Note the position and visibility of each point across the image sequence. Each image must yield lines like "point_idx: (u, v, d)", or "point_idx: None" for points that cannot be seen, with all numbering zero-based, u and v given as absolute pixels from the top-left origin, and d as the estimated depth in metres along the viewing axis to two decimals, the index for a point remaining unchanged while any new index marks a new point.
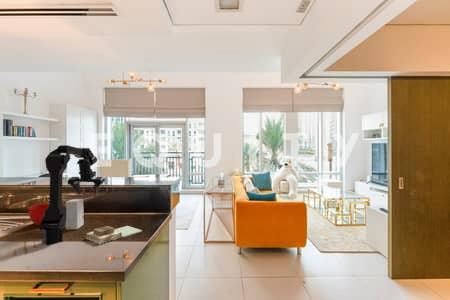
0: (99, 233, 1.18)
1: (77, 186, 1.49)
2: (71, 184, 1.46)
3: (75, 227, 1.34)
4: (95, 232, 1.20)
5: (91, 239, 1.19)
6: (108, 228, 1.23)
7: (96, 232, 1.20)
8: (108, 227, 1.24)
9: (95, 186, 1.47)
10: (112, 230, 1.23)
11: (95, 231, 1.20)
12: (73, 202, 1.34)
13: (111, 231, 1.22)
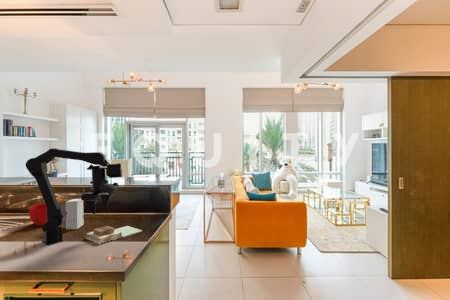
0: (99, 233, 1.18)
1: (103, 197, 1.27)
2: None
3: (75, 227, 1.34)
4: (95, 232, 1.20)
5: (91, 239, 1.19)
6: (108, 228, 1.23)
7: (96, 232, 1.20)
8: (108, 227, 1.24)
9: None
10: (112, 230, 1.23)
11: (95, 231, 1.20)
12: (73, 202, 1.34)
13: (111, 231, 1.22)
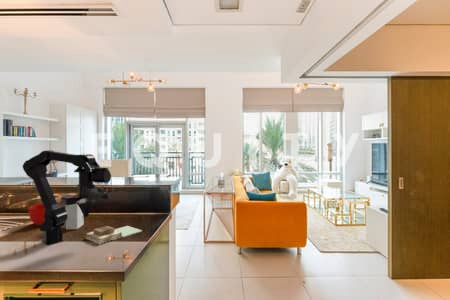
0: (99, 233, 1.18)
1: (86, 204, 1.16)
2: None
3: (75, 227, 1.34)
4: (95, 232, 1.20)
5: (91, 239, 1.19)
6: (108, 228, 1.23)
7: (96, 232, 1.20)
8: (108, 227, 1.24)
9: None
10: (112, 230, 1.23)
11: (95, 231, 1.20)
12: None
13: (111, 231, 1.22)
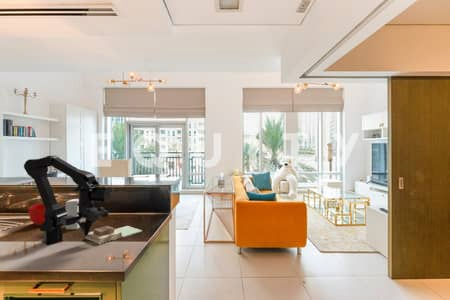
0: (99, 233, 1.18)
1: None
2: None
3: (75, 227, 1.34)
4: (95, 232, 1.20)
5: (91, 239, 1.19)
6: (108, 228, 1.23)
7: (96, 232, 1.20)
8: (108, 227, 1.24)
9: None
10: (112, 230, 1.23)
11: (95, 231, 1.20)
12: (73, 202, 1.34)
13: (111, 231, 1.22)
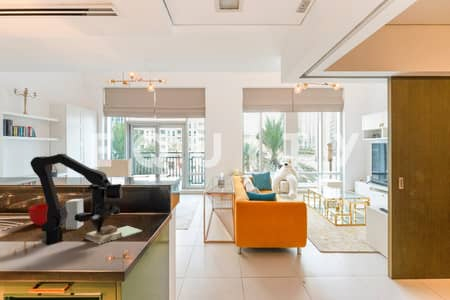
0: (102, 232, 1.19)
1: None
2: None
3: (75, 227, 1.34)
4: None
5: (91, 239, 1.19)
6: (111, 227, 1.24)
7: None
8: (111, 226, 1.26)
9: None
10: (115, 229, 1.24)
11: None
12: (73, 202, 1.34)
13: (114, 230, 1.24)
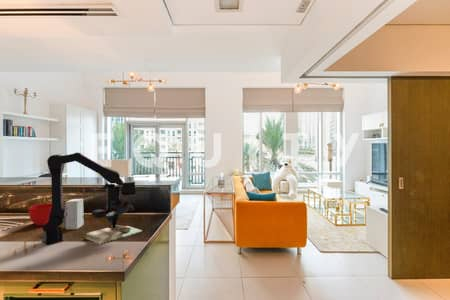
0: (117, 228, 1.25)
1: None
2: None
3: (75, 227, 1.34)
4: None
5: (91, 239, 1.19)
6: (125, 227, 1.30)
7: None
8: (125, 226, 1.31)
9: None
10: (128, 229, 1.29)
11: None
12: (73, 202, 1.34)
13: (127, 230, 1.29)
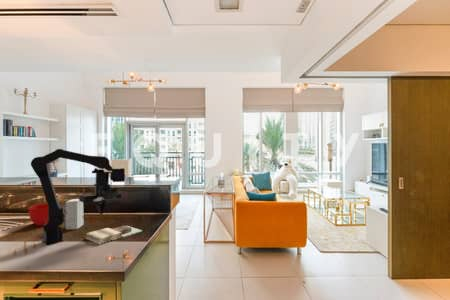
0: None
1: None
2: None
3: (75, 227, 1.34)
4: None
5: (91, 239, 1.19)
6: (125, 227, 1.30)
7: None
8: (125, 227, 1.32)
9: None
10: (129, 229, 1.30)
11: None
12: (73, 202, 1.34)
13: (128, 230, 1.30)
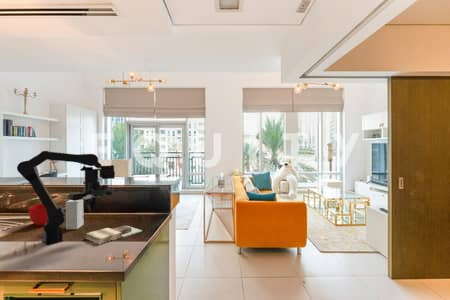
0: None
1: None
2: None
3: (75, 227, 1.34)
4: None
5: (91, 239, 1.19)
6: (125, 227, 1.30)
7: None
8: (125, 227, 1.32)
9: None
10: (129, 229, 1.30)
11: None
12: (73, 202, 1.34)
13: (128, 230, 1.30)
